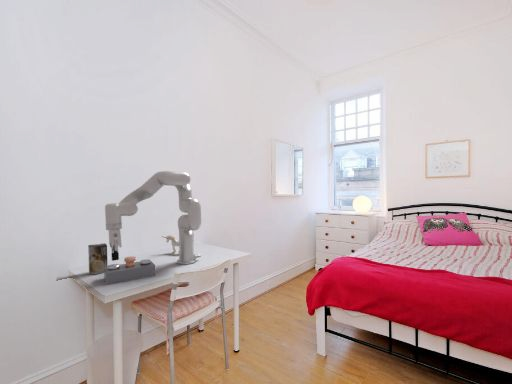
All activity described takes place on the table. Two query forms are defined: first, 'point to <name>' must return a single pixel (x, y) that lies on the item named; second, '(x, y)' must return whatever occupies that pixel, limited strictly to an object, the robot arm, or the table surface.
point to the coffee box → (97, 258)
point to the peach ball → (129, 261)
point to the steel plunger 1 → (113, 267)
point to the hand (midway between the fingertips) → (115, 259)
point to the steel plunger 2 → (145, 262)
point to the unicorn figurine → (174, 242)
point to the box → (129, 272)
